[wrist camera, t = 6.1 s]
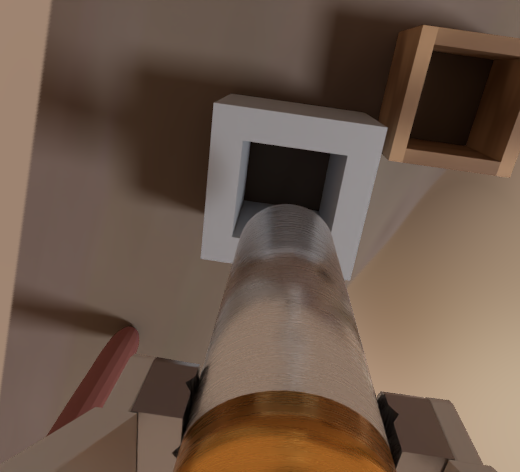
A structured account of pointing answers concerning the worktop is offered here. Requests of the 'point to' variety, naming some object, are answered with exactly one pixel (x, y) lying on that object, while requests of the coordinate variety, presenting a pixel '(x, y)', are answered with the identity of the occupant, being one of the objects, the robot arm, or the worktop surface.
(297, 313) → the pin
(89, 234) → the worktop surface
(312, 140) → the socket
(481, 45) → the mount
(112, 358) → the lollipop
